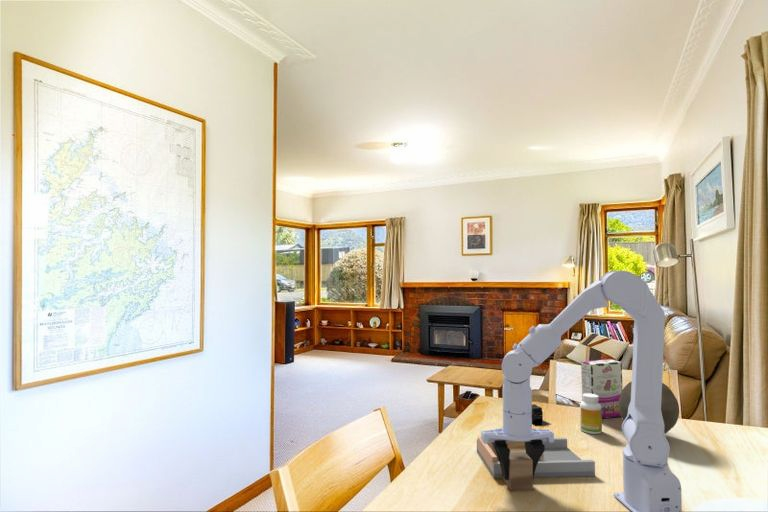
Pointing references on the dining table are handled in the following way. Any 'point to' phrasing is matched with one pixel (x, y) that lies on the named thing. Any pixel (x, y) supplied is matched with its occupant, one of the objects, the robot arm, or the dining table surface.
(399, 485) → the dining table surface
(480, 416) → the dining table surface
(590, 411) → the supplement bottle
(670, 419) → the dark grey ball
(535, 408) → the black box
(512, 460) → the walnut block
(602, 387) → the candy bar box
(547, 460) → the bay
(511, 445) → the crate
